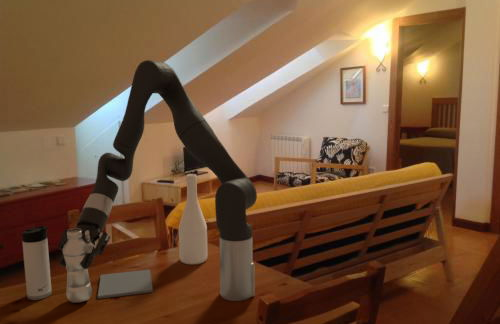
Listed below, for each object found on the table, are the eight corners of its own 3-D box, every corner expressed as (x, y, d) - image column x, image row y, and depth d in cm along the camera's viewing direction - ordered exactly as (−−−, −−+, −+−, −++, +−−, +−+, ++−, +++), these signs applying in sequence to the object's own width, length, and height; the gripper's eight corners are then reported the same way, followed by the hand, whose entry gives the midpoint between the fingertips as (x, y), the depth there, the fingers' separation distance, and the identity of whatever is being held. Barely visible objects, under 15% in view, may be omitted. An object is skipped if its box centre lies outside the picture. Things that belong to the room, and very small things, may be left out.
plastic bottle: (81, 307, 114) (75, 235, 111) (61, 303, 117) (55, 232, 113) (97, 296, 120) (92, 228, 117) (78, 293, 123) (73, 225, 119)
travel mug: (46, 300, 119) (40, 231, 116) (22, 300, 119) (16, 231, 116) (56, 290, 125) (51, 224, 122) (34, 290, 125) (28, 224, 122)
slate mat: (150, 271, 138) (149, 269, 138) (152, 292, 124) (152, 289, 124) (100, 277, 134) (100, 274, 134) (97, 298, 120) (97, 296, 120)
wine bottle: (190, 267, 141) (187, 178, 137) (174, 259, 148) (171, 174, 143) (212, 260, 147) (211, 174, 143) (196, 253, 154) (194, 171, 150)
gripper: (67, 204, 123) (42, 258, 114) (112, 207, 120) (89, 263, 110) (80, 217, 129) (57, 269, 120) (123, 220, 126) (102, 274, 116)
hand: (73, 266), depth 115 cm, fingers closed on plastic bottle, 6 cm apart
